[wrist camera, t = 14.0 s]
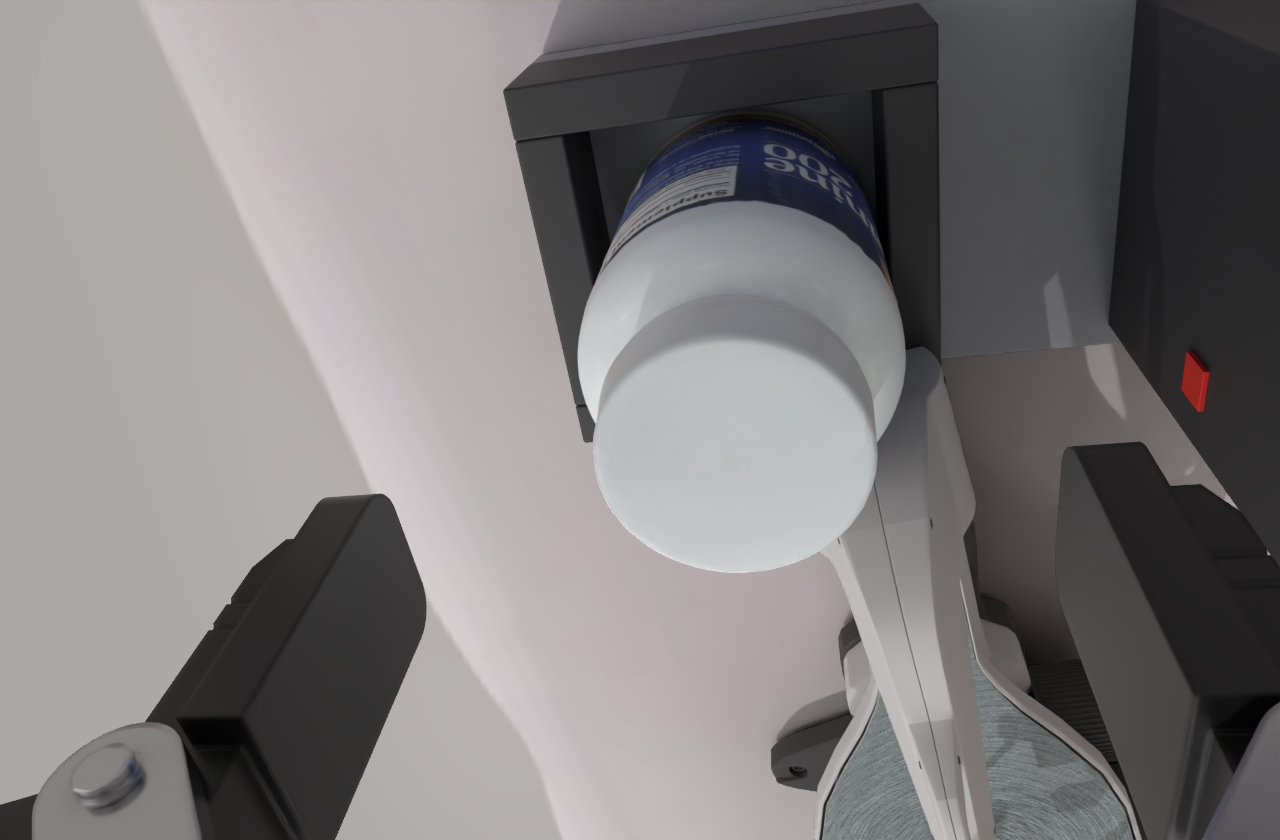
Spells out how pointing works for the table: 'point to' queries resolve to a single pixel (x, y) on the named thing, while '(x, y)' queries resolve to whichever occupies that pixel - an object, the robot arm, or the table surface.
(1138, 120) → the coffee maker
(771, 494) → the pill bottle
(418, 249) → the table surface
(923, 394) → the scroll saw
